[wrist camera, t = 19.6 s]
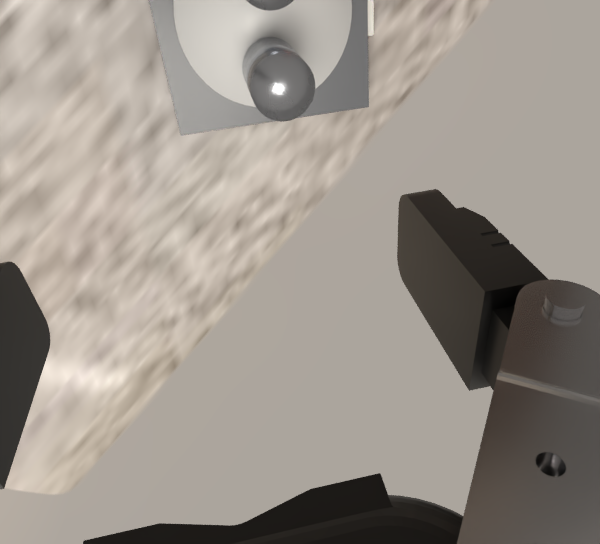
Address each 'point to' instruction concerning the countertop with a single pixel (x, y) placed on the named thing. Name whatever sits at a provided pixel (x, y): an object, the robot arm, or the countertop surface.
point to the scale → (235, 42)
